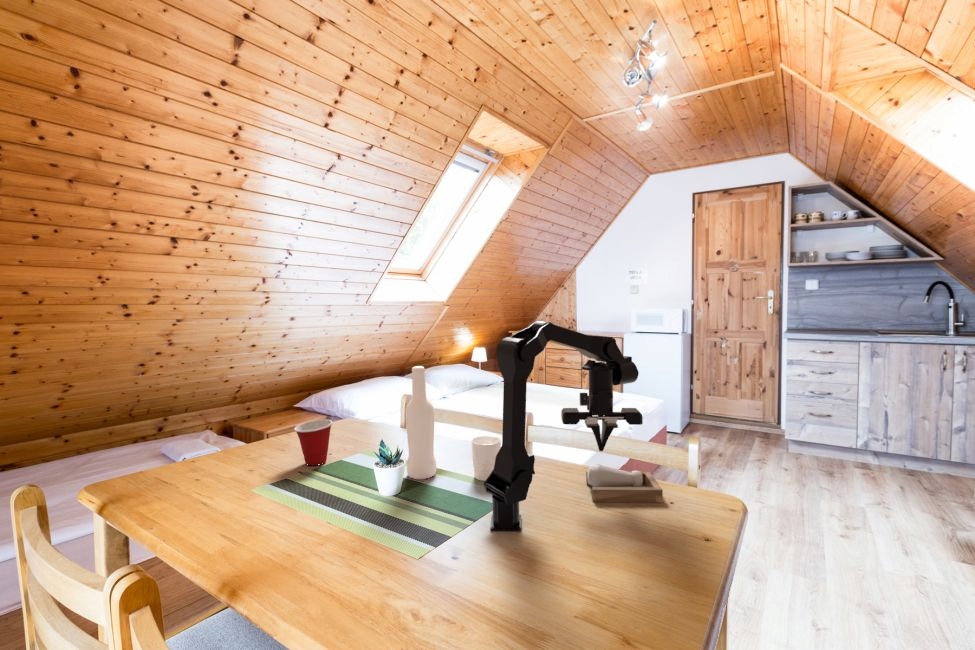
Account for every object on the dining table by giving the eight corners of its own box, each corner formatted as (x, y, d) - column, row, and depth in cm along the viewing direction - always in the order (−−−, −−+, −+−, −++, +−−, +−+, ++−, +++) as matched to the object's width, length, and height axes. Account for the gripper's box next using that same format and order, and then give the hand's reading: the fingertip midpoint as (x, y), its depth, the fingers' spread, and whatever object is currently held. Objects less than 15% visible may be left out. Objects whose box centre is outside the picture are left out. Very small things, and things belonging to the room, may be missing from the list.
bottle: (431, 481, 129) (427, 369, 127) (402, 479, 131) (398, 368, 129) (440, 470, 137) (437, 364, 135) (413, 468, 139) (409, 364, 137)
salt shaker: (590, 487, 118) (645, 491, 117) (590, 462, 120) (644, 466, 119) (586, 488, 123) (639, 492, 122) (586, 464, 125) (638, 468, 124)
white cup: (489, 484, 126) (488, 446, 126) (466, 477, 131) (465, 441, 130) (507, 474, 133) (506, 438, 132) (484, 469, 137) (483, 434, 137)
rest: (662, 502, 113) (662, 489, 113) (592, 502, 114) (592, 489, 114) (649, 483, 125) (649, 471, 125) (586, 482, 126) (586, 471, 126)
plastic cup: (294, 460, 148) (292, 421, 147) (331, 454, 153) (330, 417, 152) (297, 472, 138) (295, 430, 137) (336, 465, 143) (334, 425, 142)
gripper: (632, 381, 126) (632, 441, 127) (559, 381, 127) (559, 440, 128) (643, 389, 114) (642, 455, 115) (562, 390, 116) (563, 454, 117)
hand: (600, 450), depth 119 cm, fingers closed
